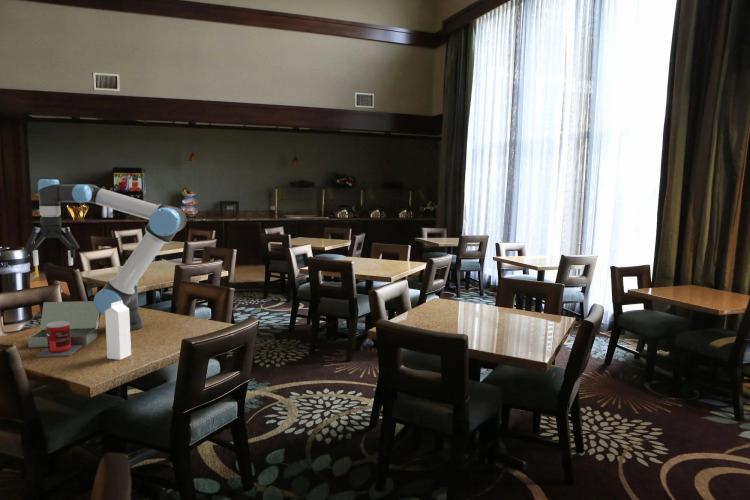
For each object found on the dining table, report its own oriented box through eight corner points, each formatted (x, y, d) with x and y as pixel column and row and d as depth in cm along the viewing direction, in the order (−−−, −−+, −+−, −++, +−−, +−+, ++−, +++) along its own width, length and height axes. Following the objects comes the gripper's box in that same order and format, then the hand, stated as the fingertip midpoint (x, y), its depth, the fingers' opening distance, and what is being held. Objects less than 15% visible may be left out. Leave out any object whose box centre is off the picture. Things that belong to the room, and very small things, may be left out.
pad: (81, 346, 208) (81, 345, 208) (69, 356, 196) (69, 354, 196) (50, 347, 206) (50, 346, 206) (35, 357, 194) (35, 355, 194)
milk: (107, 358, 194) (103, 302, 192) (118, 353, 200) (115, 299, 197) (120, 360, 193) (117, 303, 190) (131, 354, 199) (128, 300, 196)
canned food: (54, 347, 204) (52, 320, 203) (74, 346, 205) (73, 320, 204) (43, 353, 197) (41, 326, 195) (65, 353, 197) (63, 326, 196)
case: (104, 333, 226) (102, 300, 224) (89, 345, 209) (87, 310, 207) (46, 335, 222) (44, 301, 220) (26, 347, 205) (24, 311, 203)
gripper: (85, 215, 219) (88, 263, 222) (22, 215, 214) (25, 264, 217) (79, 216, 212) (82, 266, 214) (13, 216, 207) (16, 267, 210)
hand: (53, 265), depth 216 cm, fingers open, 13 cm apart
